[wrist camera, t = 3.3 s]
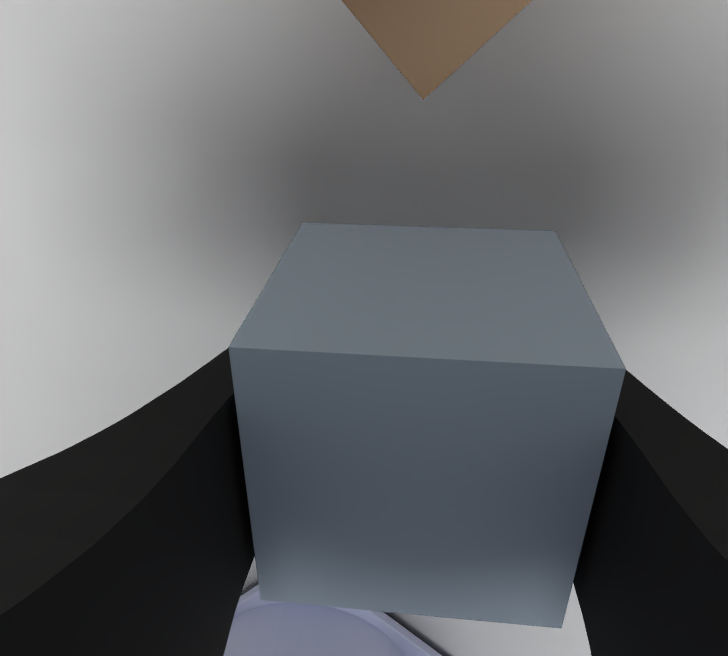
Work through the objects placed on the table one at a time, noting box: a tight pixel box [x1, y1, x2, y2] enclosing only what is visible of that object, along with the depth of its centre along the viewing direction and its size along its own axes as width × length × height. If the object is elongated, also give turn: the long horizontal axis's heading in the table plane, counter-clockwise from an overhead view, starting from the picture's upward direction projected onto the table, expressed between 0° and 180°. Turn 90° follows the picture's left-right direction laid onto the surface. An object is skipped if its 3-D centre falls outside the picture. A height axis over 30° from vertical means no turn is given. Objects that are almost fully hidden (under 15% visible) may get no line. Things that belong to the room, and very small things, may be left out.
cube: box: [228, 222, 626, 628], centre depth 10 cm, size 4×4×4 cm
